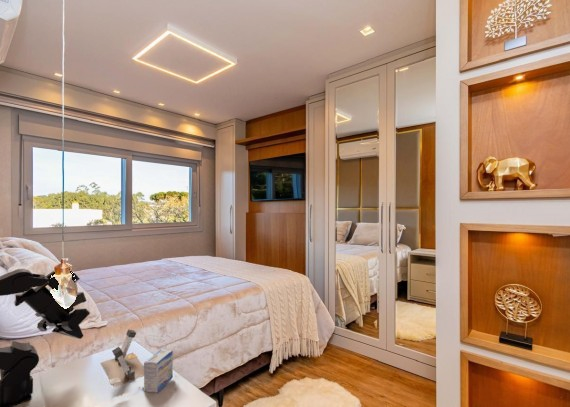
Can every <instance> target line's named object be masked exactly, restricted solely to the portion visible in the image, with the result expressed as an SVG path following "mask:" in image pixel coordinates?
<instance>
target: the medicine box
mask: <svg viewBox="0 0 570 407" xmlns="http://www.w3.org/2000/svg"><path fill="white" fill-rule="evenodd" d="M173 355H174V354H173V350H168V349H160V350H158V351H157V352H156V353H155V354H153V355H152V356H151V357H150V358H148V359H147V360H146V361H144V362H143V366H144V376H143V392H148V393H156V394H158V393H159V392H160V391H161V390H162V389H163V388H164V387H165V386H166V385H167V384H168V383H169V382H170V381H171V380H173V370H174V368H173V364H174V362H173V360H174V359H173V358H174V357H173Z"/></svg>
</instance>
